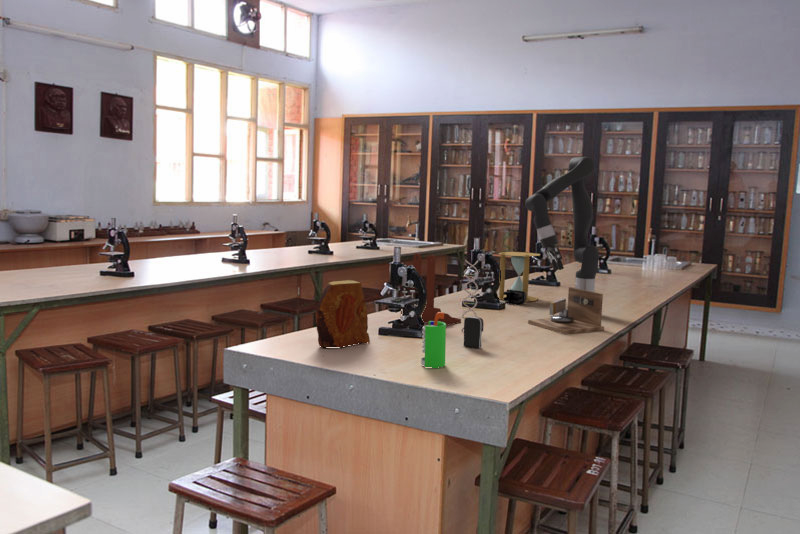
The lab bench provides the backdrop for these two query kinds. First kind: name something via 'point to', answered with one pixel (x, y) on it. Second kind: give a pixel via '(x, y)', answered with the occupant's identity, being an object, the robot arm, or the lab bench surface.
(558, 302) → the cam foot
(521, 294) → the end cap
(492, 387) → the lab bench surface
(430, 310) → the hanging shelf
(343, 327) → the fossil rock
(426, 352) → the green-shelled ribbed roller
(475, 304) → the dna model
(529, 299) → the hourglass
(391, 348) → the lab bench surface
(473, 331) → the battery charger
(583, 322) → the levelling base
